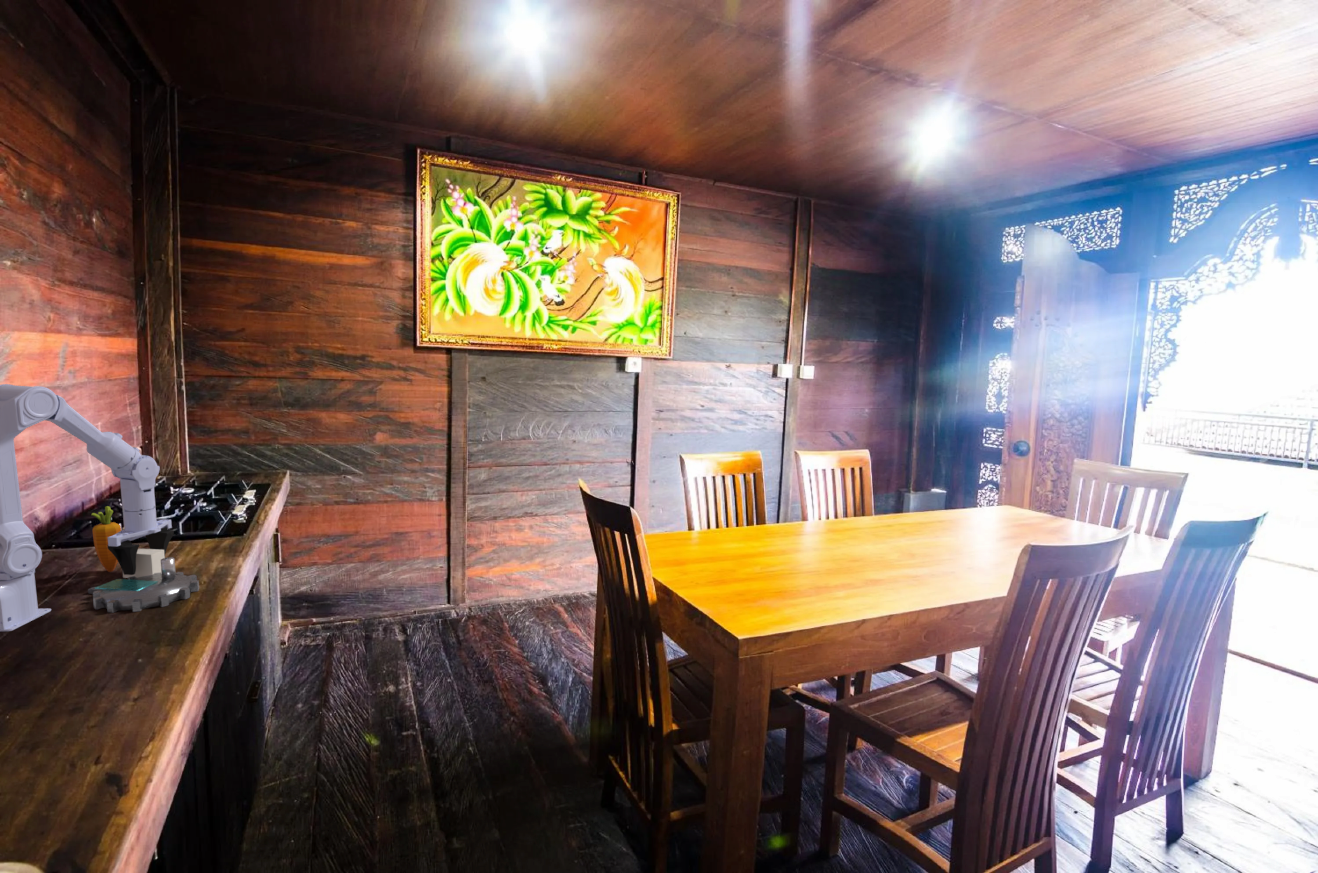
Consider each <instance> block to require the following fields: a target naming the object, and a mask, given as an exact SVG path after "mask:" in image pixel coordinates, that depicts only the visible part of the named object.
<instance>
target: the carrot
mask: <svg viewBox="0 0 1318 873" xmlns="http://www.w3.org/2000/svg"><path fill="white" fill-rule="evenodd" d="M104 510H105V515H104V513H103V512H102V511H98V513H95V512H92V513H91V515H90V516H92V517H95V518H96V519H97V520H99V522H100V523H99V524H96V525H94V526H93V527H92V537H93V538H92V539H93V545H94V548H95V552H96V555H97V558H98V560H99V562H100V564H101V565H102V567H103V568H104V569H105V570H106V572H108V573H112V572H114V571H115V569H116V567H117V565H118V564H119V562H118V560H117V559H116V557H115V556H114V555H113V554H112V552H111V551H110V550H109V549H108V546H107V545H108V537H110V536H113V535H115V534H116V533H118V532H120V531H122V526H121V525H120V524H119V523H116V522H115V521H113V522H112V520H111V519H112V515H113V513H114V510H113V509H111V506H108V505H107V506H105V507H104Z"/></svg>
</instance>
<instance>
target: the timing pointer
mask: <svg viewBox="0 0 1318 873" xmlns="http://www.w3.org/2000/svg"><path fill="white" fill-rule="evenodd" d="M95 587H96V586H92V587H90V588H88V589H87V593H88V594H89V595H93V592H94V591H99V590H103V589H95Z"/></svg>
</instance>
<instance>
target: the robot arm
mask: <svg viewBox="0 0 1318 873" xmlns="http://www.w3.org/2000/svg"><path fill="white" fill-rule="evenodd" d="M43 421H46V422H47V421H48V422H51V423H53V424H55V425H56V426H58V427H59V428H60V429H63V431H65V432H67V433H69V434H70V435H72V436H74V437H75V438H76V439H79V440H80V441H81V442H82V443H85V444H86V452H87V453H88V454H89V455H91V457H94V458H95V459H97V460H98V461H100V462H101V463H102V464H104V465H105V466H107V467H108V468H109V469H111V473H112V475H113V477H114V478H118V479H119V482H120V483H119V484H120V485H119V486H120V495H121V503H122V504H121V505H122V506H121V507H122V518H123V528H124V529H121V531H120V532H118V533H116V534H115V535H113V536H110V537H108V545H107V546H108V549H109V550H110V551H111V552H112V554H113V555H114V556H115V557H116V559H117V560H118V564H119V566H120V569H121V570H122V574H123V573H124V575H134V574H135V572H136V554H137V550H138V548H139V547H140V544H138V543H136V544H135V543H132V542H131V541H134V540H137V539H139V538H143V537H145V538H146V541H147V544H148V547H149V549H159V550H164V556H165V557H166V552H167V549H168V545H169V543H170V541H171V539H172V538H173V537H174V530H173V529H172V528H173V526H172V519H165V518H164V519H160V520H157V510H156V507H157V506H156V497H155V495H156V494H155V486H156V478H157V477H158V475H159V473H160V465H158V463H157V462H156V460H155V459H154V458H153V457H152V456H149V455H145V454H141V452H140V448H138V447H135V446H134V447H133V446H132V445H130V444H129V443H127V441H125V440H123V439H122V438H123V435H122V434H120V433H119V432H113V431H103V432H102V431H101V430H100V429H98V428H97V427H96V426H95V425H94V424H93V423H92V422H90V421H89V420H88V419H87V418H85V417H84V416H83V415H81V414H80V413H79V412H78V411H77V410H75V409H74V408H73V407H72V406H70V405H69V404H68V403H67V401H66V400H65V398H64V397H63V396H60V395H58V394H56V393H55V392H54V391H53V390H51V389H50V388H48V387H46V386H41V385H39V386H38V385H35V386H26V385H15V384H14V385H13V384H8V383H3V384H0V632H12V631H14V630H16V629H19V628H20V627H22V626H24V625H26V624H28V623H30V622H31V621H34V620H36V619H38V618H40V617H41V616H42V617H43V616H44V615H46V614H48V613H50V612H51V611H52V608H39V607H38V605H39V604H38V596H37V587H36V578H35V573H36V569H37V567H38V566H39V565H40V563H41V561H42V558H43V551H42V549H41V547H40V546H39V545H38V544H37V543H36V540H35V534H34V532H33V531H32V530H31V529H30V527H29V526H28V525H27V524H26V523H25V522H24V520H23V519H24V518H23V510H22V500H21V492H20V484H19V475H18V466H17V458H16V450H15V449H16V448H15V438H16V437H17V436H18V435H20V434H21V433H22V432H24V431H25V430H26V429H27V428H30V427H32V426H35V425H36V424H39V423H42V422H43Z"/></svg>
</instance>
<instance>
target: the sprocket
mask: <svg viewBox="0 0 1318 873" xmlns="http://www.w3.org/2000/svg"><path fill="white" fill-rule="evenodd" d="M161 573H162V574H161ZM199 582H200V581H199V579H198V578H197V575H196V574H191V575H185V574H184V572H183V571H177V572H176V563H175V557H170V556H169V557H168V556H167V557H165V558H163V559H161V572H160V573H154V574H153V575H149V576H142V577H135V576H133V577H129V578H127V579H126V578H116V579H113V580H111V581H109V582H106V583H103V584H101V585H98V586H94V587H95V589H103V590H99V591H94V592H93V594H92V601H93V609H95V610H100V609H107V613H112V614H113V613H117V612H118V611H132V613H136V612H141V611H142V610H143V609H149V608H154V607H161V608H164V607H168V606H169V605H170V603H174V602H176V601H179V600H187V599H189V598H191V593H193V592H194V593H195V592H199V591H200V583H199Z"/></svg>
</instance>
